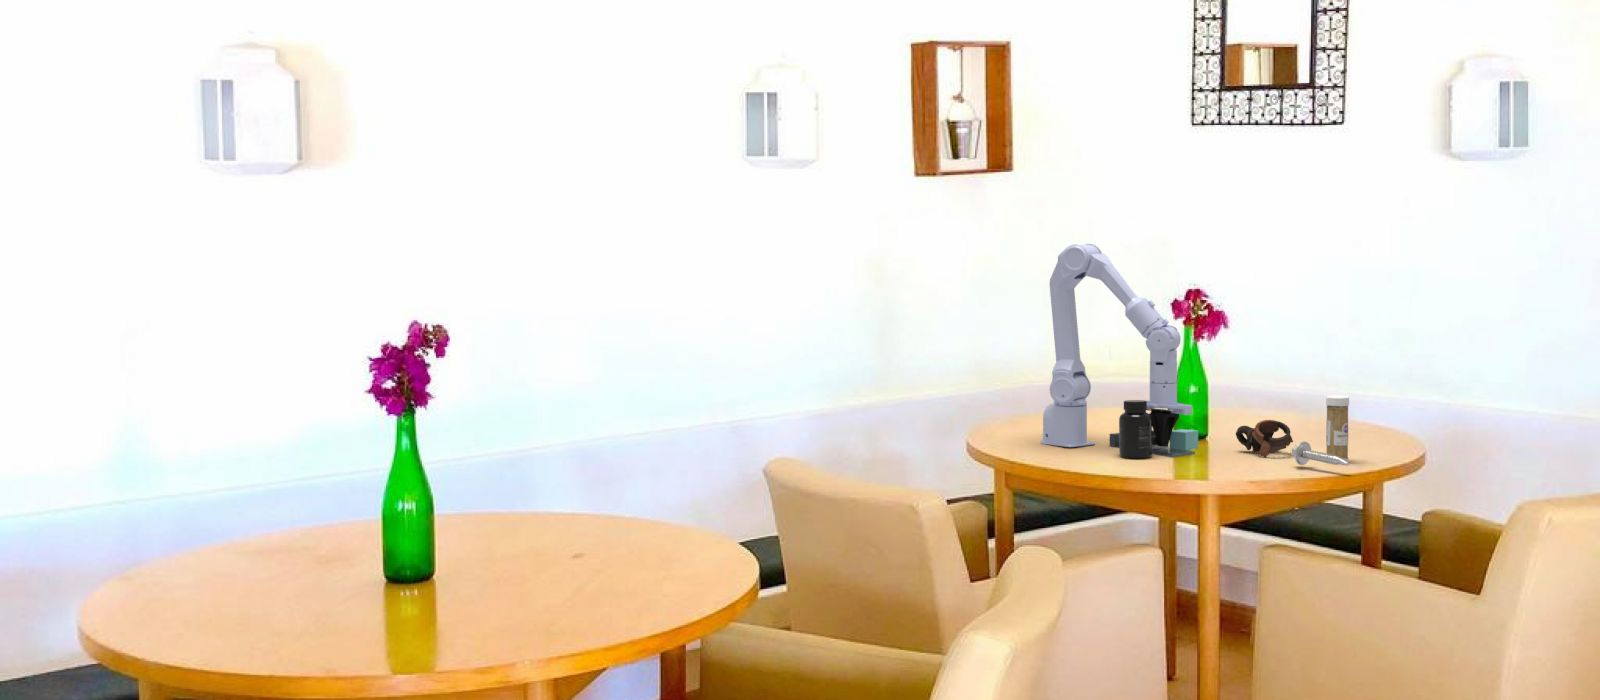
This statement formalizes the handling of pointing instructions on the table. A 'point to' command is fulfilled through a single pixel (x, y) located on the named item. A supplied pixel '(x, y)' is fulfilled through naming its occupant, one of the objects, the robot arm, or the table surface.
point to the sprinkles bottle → (1337, 425)
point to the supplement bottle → (1135, 431)
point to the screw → (1314, 455)
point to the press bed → (1162, 451)
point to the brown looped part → (1264, 437)
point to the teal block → (1184, 439)
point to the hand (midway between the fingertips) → (1162, 445)
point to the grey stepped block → (1154, 442)
